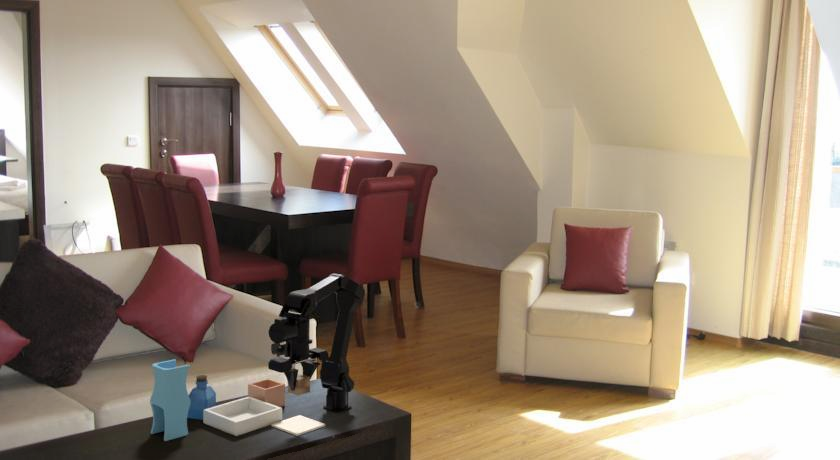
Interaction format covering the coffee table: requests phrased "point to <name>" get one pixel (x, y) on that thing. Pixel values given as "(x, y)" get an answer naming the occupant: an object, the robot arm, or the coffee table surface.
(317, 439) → the coffee table surface
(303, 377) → the walnut block
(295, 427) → the cream coaster
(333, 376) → the robot arm
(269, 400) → the terracotta pot
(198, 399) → the perfume bottle
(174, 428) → the vase
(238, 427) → the white bin
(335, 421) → the coffee table surface
